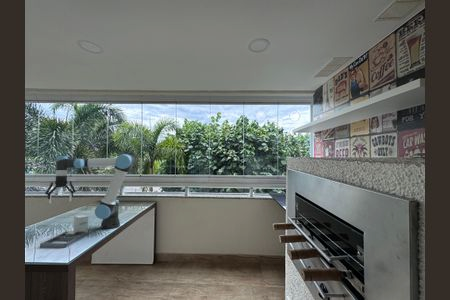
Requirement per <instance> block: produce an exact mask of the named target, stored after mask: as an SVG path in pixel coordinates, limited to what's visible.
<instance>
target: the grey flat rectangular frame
mask: <svg viewBox="0 0 450 300" xmlns="http://www.w3.org/2000/svg"><path fill="white" fill-rule="evenodd" d="M70 231H71V230H70ZM70 231H68V230H67V231H64V232H62V233H59V234H58V235H55V236H53V237H52V238H49V239H47V240H45V241H43V242H41V243H40V244H39V248H43V249H44V248H45V249H46V248H47V249H48V248H50V249H51V248H52V249H53V248H54V249H57V248H58V249H60V248H61V249H62V248H63V249H66V248H68V247H70V246H71V245H73V244H75V243H76V242H78V241H80V240H81V239H83V238H85V237H87V236H88V235H89V231H87V232H79V231H78V237H65V233H67V232H70ZM56 242H57V243H56ZM58 242H59V243H58ZM62 242H63V243H62Z"/></svg>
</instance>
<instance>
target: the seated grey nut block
mask: <svg viewBox="0 0 450 300" xmlns="http://www.w3.org/2000/svg"><path fill="white" fill-rule="evenodd" d="M78 236H79V235H78V231H73V230H70V232H67V233H65V236H64V237H78Z"/></svg>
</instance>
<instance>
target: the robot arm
mask: <svg viewBox="0 0 450 300" xmlns="http://www.w3.org/2000/svg"><path fill="white" fill-rule="evenodd" d="M135 165H136V158H135V156H133V155H131V154H126V153H123V154H119V155H118V156H117V157H101V158H100V157H98V158H69V157H68V156H65V155H63V156H61V155H60V156H59V155H58V156H56V163H55V175H56V176H55V181H51V182H50V183H49V186H48V188H47V189H46V190H45V193H44V194H45V195H47V199H48V201H49V202H48V204H52V193H53V192H54V191H56V189H57V188H66V190H68V191H69V199H68V200H69V202H72V199H73V197H74V193H76V191H77V190H76V188H74V185H73V183H72V181H71V180H69V181H68V169H84V168H85V169H86V168H104V167H105V168H106V167H107V168H108V167H113V168H114V174H113V175H112V178H111V180H110V183H109V186H108V187H107V190H106V192H105V194H104V197H103V198H101V200H100V202H99V204H98V205H97V206H96V207H95V208H94V215H95V216H96V218H98V219H100V220H102V221H101V224H100V228H101V229H104V230H106V229H107V230H108V229H109V230H111V229H117V228H119V227H121V221H120V218H119V209H120V201H119V199H117V197H118V195H119V192H120V190H121V187H122V185H123V182H124V180H125V178H126V175H127V174H128V173H130V170H131V168H133V167H134V166H135ZM67 184H69V186H70V187H69V186H68V185H67ZM53 185H55V186H54V187H53ZM52 187H53V188H52Z"/></svg>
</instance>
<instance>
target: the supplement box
mask: <svg viewBox="0 0 450 300" xmlns="http://www.w3.org/2000/svg"><path fill="white" fill-rule="evenodd" d="M88 225H89V215H85V214H82V215H75V216H74V217H73V229H72V231H79V232H88Z"/></svg>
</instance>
